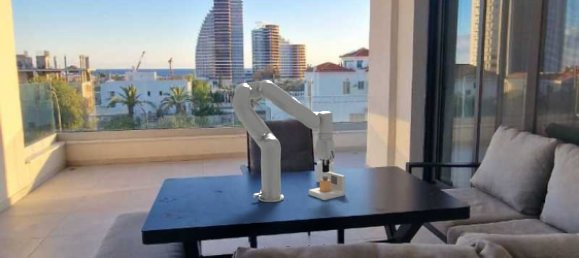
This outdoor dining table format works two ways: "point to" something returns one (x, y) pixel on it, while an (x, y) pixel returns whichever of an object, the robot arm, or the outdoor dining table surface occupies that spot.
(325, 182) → the plug
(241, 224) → the outdoor dining table surface
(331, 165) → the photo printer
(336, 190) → the socket
